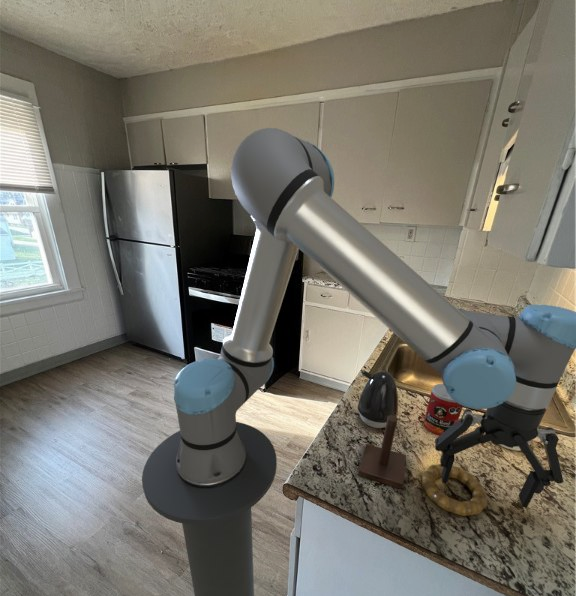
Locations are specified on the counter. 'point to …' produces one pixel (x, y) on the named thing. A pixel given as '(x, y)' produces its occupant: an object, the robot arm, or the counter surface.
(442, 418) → the canned food
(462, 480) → the ring
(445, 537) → the counter surface
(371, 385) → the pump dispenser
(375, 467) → the post
